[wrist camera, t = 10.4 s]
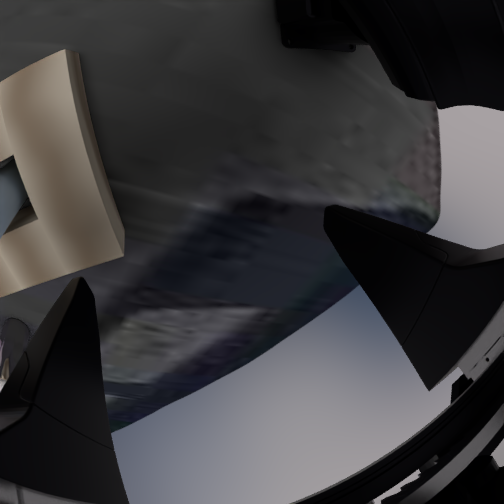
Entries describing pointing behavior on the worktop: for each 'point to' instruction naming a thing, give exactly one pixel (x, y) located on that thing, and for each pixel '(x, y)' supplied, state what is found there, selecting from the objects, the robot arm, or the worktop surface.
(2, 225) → the dowel
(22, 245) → the socket block
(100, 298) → the worktop surface
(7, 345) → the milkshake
